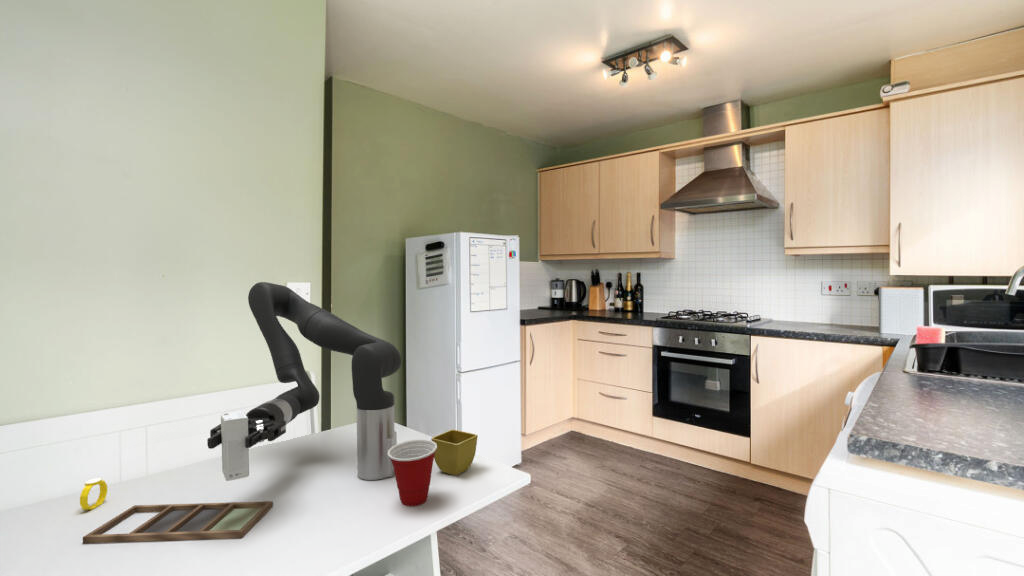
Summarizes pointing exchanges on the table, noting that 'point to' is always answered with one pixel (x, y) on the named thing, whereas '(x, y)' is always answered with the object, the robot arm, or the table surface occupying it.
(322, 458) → the table surface
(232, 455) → the skincare box
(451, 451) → the flower pot
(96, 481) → the watch
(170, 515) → the divided wooden frame
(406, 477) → the plastic cup
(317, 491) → the table surface
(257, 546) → the table surface
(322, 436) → the table surface
